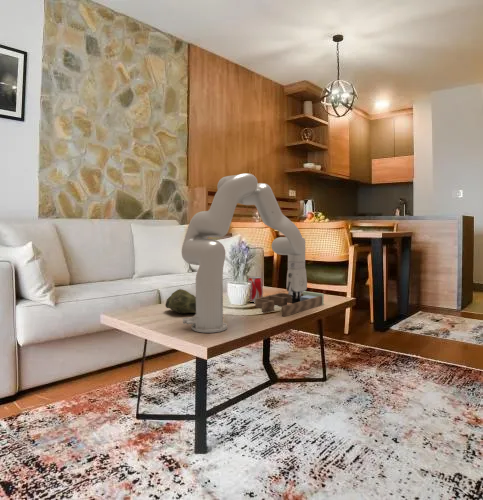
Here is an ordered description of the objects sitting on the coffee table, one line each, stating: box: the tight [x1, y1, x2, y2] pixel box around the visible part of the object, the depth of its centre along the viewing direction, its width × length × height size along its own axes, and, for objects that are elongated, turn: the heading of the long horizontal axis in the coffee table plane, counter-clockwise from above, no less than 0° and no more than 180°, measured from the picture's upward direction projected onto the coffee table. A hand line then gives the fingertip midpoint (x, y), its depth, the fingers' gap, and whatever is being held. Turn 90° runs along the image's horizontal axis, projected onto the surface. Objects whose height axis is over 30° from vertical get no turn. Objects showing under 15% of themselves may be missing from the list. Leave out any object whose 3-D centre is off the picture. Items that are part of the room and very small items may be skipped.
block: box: [300, 295, 316, 301], centre depth 180 cm, size 6×6×4 cm
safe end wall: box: [302, 290, 325, 306], centre depth 185 cm, size 1×11×5 cm, turn 49°
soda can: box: [247, 275, 264, 302], centre depth 187 cm, size 7×7×12 cm
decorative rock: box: [165, 288, 196, 315], centre depth 165 cm, size 15×16×10 cm
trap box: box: [254, 292, 323, 317], centre depth 176 cm, size 30×20×4 cm, turn 139°
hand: (296, 306), depth 175 cm, fingers closed
